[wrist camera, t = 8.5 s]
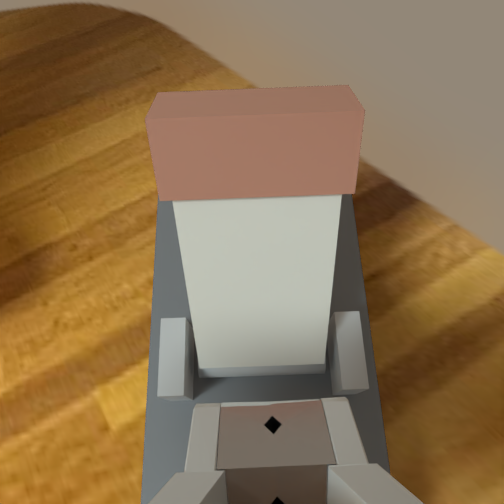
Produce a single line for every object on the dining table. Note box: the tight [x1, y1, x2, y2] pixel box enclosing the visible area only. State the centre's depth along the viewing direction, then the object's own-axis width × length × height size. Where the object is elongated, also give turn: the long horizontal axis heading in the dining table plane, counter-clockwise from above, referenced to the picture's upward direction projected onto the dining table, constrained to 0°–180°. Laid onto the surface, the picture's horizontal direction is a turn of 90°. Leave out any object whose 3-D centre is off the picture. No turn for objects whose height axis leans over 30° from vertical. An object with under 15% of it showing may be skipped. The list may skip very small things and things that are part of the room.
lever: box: [145, 85, 365, 378], centre depth 15 cm, size 6×2×12 cm, turn 92°
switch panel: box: [141, 194, 390, 504], centre depth 21 cm, size 10×18×8 cm, turn 2°
